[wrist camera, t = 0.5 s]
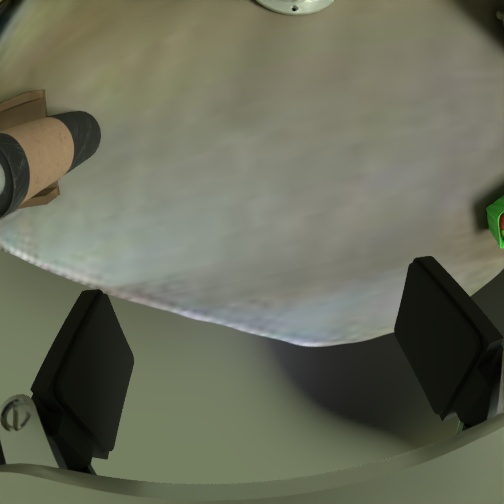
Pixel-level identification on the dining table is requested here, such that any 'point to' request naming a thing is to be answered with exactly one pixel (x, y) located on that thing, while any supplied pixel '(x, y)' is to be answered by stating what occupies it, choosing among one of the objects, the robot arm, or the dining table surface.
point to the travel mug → (43, 154)
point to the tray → (20, 113)
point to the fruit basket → (497, 220)
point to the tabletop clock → (500, 16)
